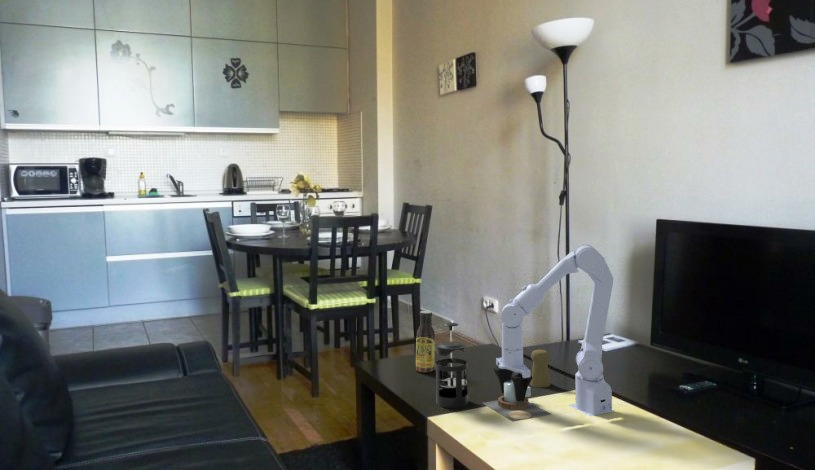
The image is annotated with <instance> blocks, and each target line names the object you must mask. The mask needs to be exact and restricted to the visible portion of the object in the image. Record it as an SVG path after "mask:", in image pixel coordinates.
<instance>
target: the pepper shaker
mask: <svg viewBox="0 0 815 470" xmlns="http://www.w3.org/2000/svg"><path fill="white" fill-rule="evenodd" d="M530 357H531V360H532V368H531V374H530V375H531V376H532V380H531V382H530V386H532V387H536V388H548V387H550V386H551V379H550V372H549V368H548V367H549V366H548V361H549V359H550V355H549V352H548V351H547V350H545V349H534V350H533V351H532V352H531V355H530Z"/></svg>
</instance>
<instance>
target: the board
mask: <svg viewBox="0 0 815 470" xmlns="http://www.w3.org/2000/svg"><path fill="white" fill-rule="evenodd" d="M482 404H483V405H484V406H486V407H487V408H489V409H490V410H492V411H494V412H495V413H497V414H499V415H501V416H502V417H504V418H506V419H508V420H509V421H511V422H518V421H523V420H530V419H533V418H540V417H544V416H546V417H547V416H549V415H550V416H551V415H552V413H551V412H549V411H547V410H545V409H543V408H541V407H539V406H537V405H535V404H534V403H532V402H530V401H529V398H528V397H525V399H524V401H522V402H521V403H507V402H504V394H503V395H501V396H499V397H498V398H497V399H495V400H490V401H484V402H482Z"/></svg>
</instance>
